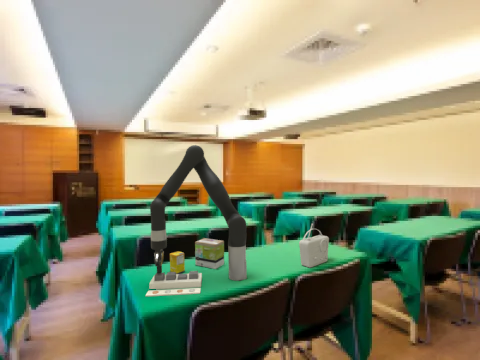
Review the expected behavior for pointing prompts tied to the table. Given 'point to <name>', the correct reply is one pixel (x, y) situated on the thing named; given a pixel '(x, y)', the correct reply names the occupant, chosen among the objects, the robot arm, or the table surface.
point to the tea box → (209, 253)
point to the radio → (313, 249)
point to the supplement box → (177, 262)
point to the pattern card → (173, 292)
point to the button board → (176, 283)
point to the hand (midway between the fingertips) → (159, 272)
